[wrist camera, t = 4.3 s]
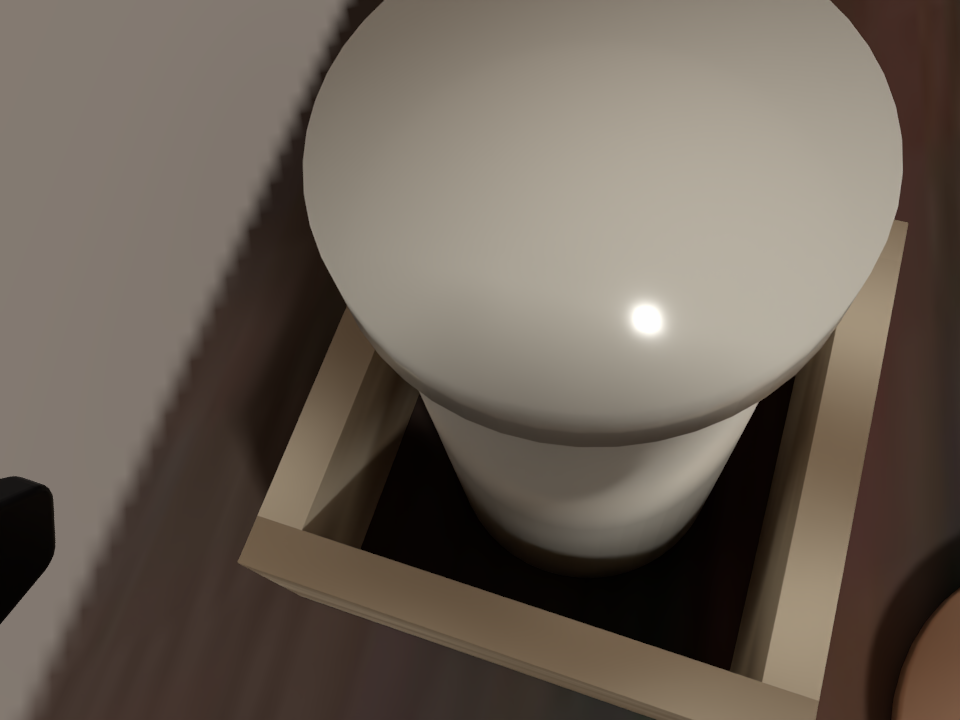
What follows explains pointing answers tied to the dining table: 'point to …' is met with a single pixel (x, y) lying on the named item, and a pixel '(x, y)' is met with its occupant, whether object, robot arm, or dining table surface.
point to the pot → (599, 239)
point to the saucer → (932, 668)
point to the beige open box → (556, 639)
